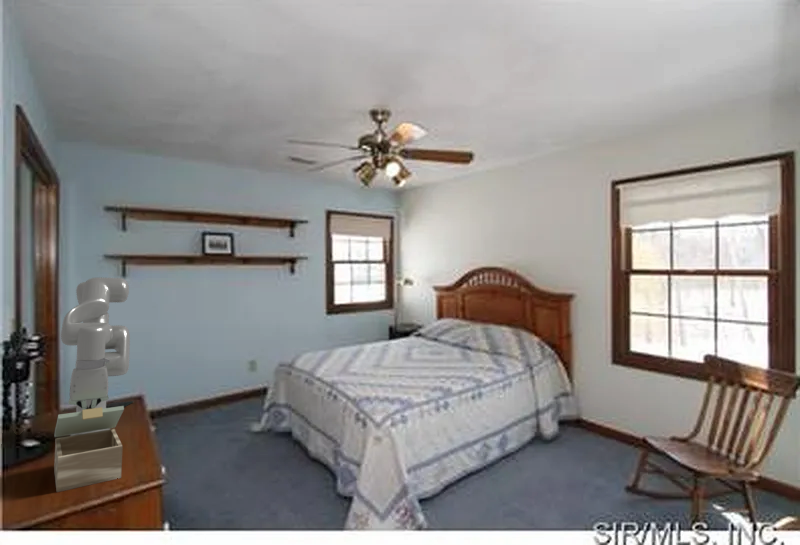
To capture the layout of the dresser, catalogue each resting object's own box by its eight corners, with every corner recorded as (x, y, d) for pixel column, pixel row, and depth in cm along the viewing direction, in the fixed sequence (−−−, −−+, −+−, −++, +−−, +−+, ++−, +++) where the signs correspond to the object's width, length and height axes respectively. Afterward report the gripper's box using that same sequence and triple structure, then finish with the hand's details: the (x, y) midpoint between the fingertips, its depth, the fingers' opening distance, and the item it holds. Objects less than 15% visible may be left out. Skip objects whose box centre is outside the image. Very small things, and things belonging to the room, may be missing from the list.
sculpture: (84, 422, 182) (86, 405, 183) (111, 416, 210) (112, 401, 211) (110, 421, 184) (112, 404, 185) (133, 415, 212) (134, 400, 214)
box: (54, 469, 142) (55, 438, 142) (112, 457, 152) (114, 428, 152) (56, 492, 128) (58, 457, 128) (121, 477, 138) (122, 445, 139)
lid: (54, 441, 142) (54, 432, 143) (115, 431, 152) (115, 423, 153) (58, 422, 129) (58, 413, 130) (124, 412, 140) (124, 404, 141)
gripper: (115, 359, 152) (113, 413, 152) (61, 364, 142) (58, 420, 142) (119, 364, 146) (116, 419, 146) (62, 368, 136) (59, 428, 136)
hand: (87, 420), depth 144 cm, fingers closed
